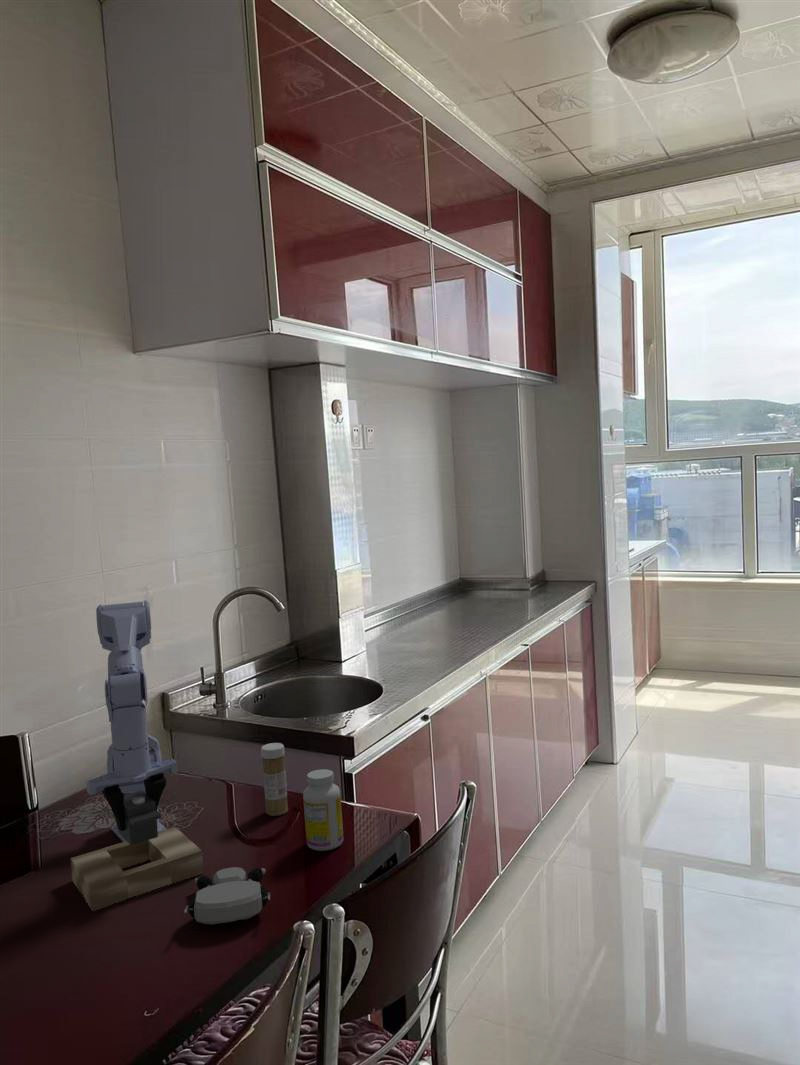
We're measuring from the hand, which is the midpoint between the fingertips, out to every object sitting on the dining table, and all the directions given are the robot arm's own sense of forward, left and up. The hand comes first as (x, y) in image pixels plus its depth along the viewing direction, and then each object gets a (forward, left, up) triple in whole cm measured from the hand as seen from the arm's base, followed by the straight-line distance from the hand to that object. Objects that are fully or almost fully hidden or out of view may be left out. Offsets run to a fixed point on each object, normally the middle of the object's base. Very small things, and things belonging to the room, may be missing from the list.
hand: (136, 824), depth 132 cm
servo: (0, 0, -2) cm, 2 cm away
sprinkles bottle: (-8, +30, -9) cm, 32 cm away
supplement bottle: (+11, +30, -9) cm, 33 cm away
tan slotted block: (0, 0, -9) cm, 9 cm away
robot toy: (+20, +8, -9) cm, 23 cm away
